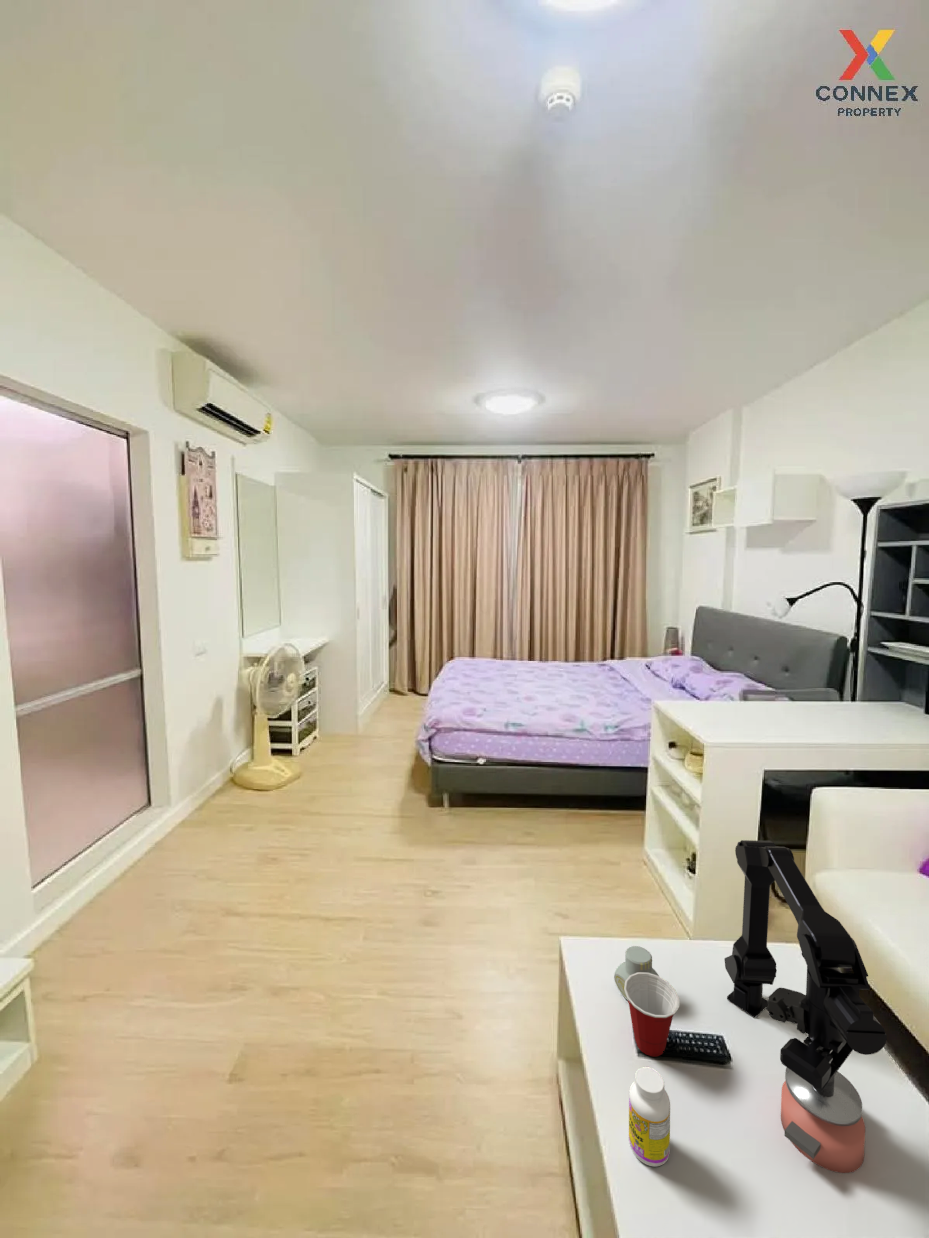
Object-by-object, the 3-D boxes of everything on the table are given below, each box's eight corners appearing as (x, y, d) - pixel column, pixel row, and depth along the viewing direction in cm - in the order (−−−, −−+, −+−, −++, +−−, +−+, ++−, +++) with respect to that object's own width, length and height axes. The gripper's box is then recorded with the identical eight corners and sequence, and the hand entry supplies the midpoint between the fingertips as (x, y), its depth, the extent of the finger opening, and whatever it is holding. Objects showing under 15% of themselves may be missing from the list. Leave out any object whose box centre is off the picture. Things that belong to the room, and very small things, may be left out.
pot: (805, 1079, 102) (806, 1055, 101) (881, 1133, 92) (882, 1107, 92) (760, 1134, 92) (761, 1108, 92) (839, 1200, 83) (841, 1171, 82)
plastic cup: (656, 1079, 103) (657, 1022, 102) (612, 1039, 112) (612, 986, 111) (690, 1050, 109) (691, 996, 108) (646, 1014, 118) (646, 964, 117)
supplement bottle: (622, 1129, 94) (623, 1062, 93) (658, 1125, 94) (659, 1058, 93) (638, 1171, 87) (638, 1100, 86) (677, 1166, 88) (678, 1095, 87)
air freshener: (669, 1005, 120) (670, 964, 119) (640, 1018, 117) (640, 975, 116) (636, 972, 130) (636, 934, 129) (609, 983, 127) (609, 944, 126)
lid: (802, 1052, 99) (803, 1023, 99) (872, 1100, 90) (874, 1067, 90) (773, 1085, 93) (774, 1054, 92) (845, 1140, 84) (847, 1106, 83)
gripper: (800, 949, 102) (797, 1024, 103) (749, 995, 91) (747, 1078, 93) (869, 986, 93) (865, 1067, 94) (821, 1042, 82) (818, 1132, 84)
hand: (822, 1084), depth 91 cm, fingers closed on lid, 3 cm apart
